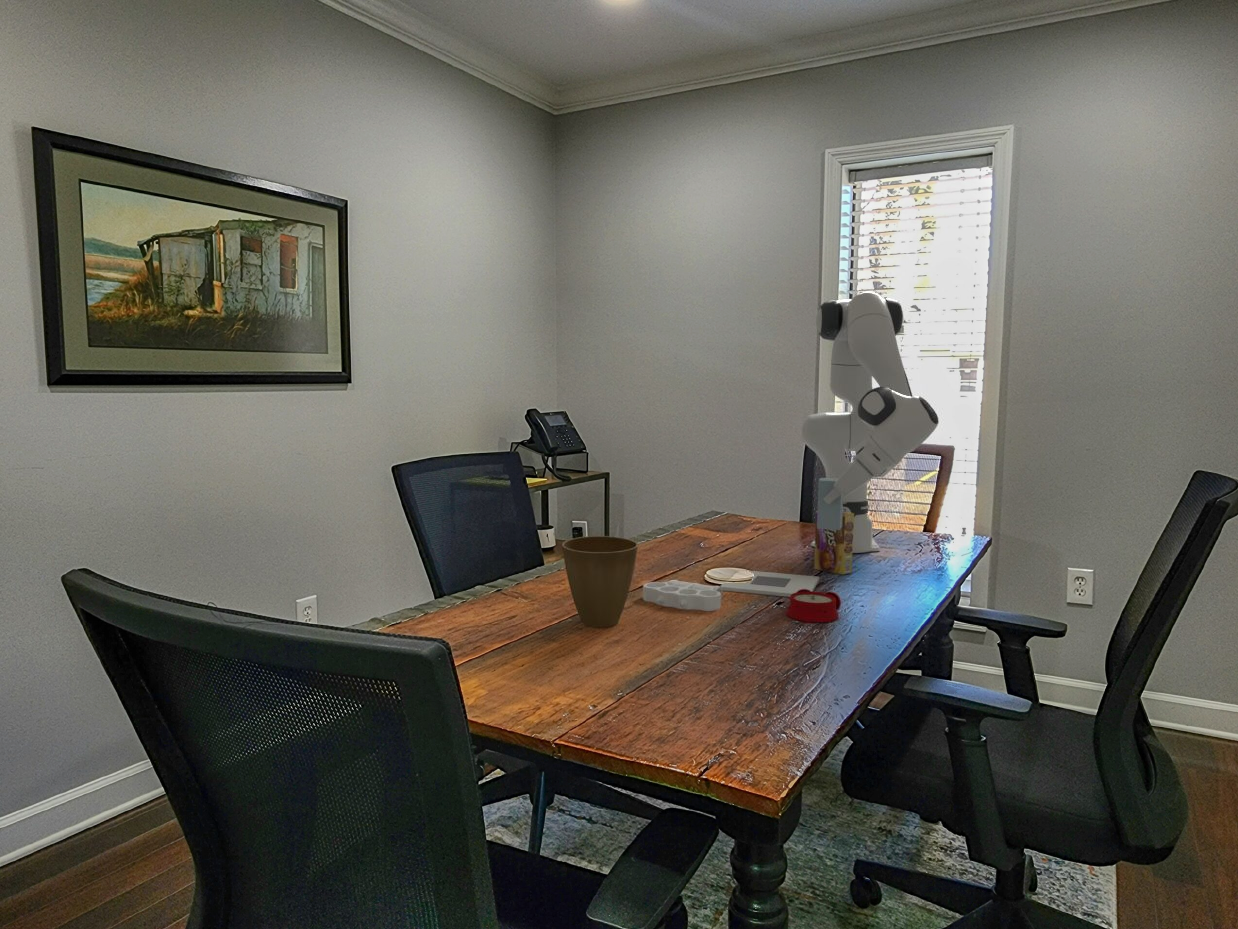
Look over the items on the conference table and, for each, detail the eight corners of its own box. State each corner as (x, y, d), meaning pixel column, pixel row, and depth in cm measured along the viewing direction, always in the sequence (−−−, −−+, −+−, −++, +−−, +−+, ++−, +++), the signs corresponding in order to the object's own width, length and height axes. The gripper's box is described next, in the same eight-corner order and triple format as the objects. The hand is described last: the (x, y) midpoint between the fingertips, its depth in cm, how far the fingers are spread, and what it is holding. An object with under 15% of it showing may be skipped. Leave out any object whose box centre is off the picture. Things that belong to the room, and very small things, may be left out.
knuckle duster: (735, 600, 177) (707, 617, 164) (663, 589, 186) (631, 604, 174) (736, 585, 177) (707, 601, 164) (663, 575, 186) (631, 589, 173)
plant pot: (547, 621, 160) (547, 542, 159) (605, 607, 170) (605, 533, 168) (593, 639, 149) (593, 554, 147) (653, 623, 159) (653, 544, 157)
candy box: (853, 572, 201) (855, 512, 200) (842, 575, 198) (844, 514, 197) (823, 566, 208) (825, 508, 206) (813, 568, 205) (814, 509, 204)
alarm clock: (780, 604, 160) (796, 571, 173) (781, 631, 162) (796, 597, 175) (833, 610, 156) (845, 576, 169) (833, 638, 158) (845, 603, 171)
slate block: (819, 524, 186) (821, 477, 185) (842, 526, 184) (843, 478, 183) (817, 528, 181) (818, 480, 180) (839, 530, 180) (841, 481, 178)
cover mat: (737, 572, 201) (737, 569, 201) (819, 580, 194) (819, 576, 194) (719, 590, 184) (719, 586, 184) (808, 598, 177) (808, 594, 177)
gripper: (867, 444, 188) (823, 483, 193) (860, 451, 169) (811, 495, 174) (886, 463, 187) (841, 502, 192) (881, 473, 168) (832, 517, 173)
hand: (827, 499), depth 182 cm, fingers closed on slate block, 5 cm apart
